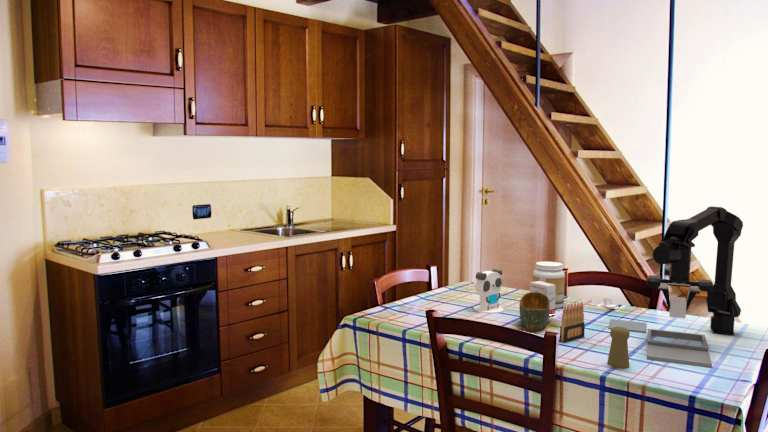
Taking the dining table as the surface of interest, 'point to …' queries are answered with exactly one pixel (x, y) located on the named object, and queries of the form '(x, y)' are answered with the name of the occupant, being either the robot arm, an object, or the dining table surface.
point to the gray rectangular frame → (678, 349)
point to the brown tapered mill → (619, 348)
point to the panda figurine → (489, 291)
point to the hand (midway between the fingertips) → (677, 310)
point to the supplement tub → (552, 278)
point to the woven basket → (534, 311)
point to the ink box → (545, 292)
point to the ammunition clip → (572, 323)
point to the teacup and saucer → (608, 303)
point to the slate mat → (628, 325)
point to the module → (677, 307)
